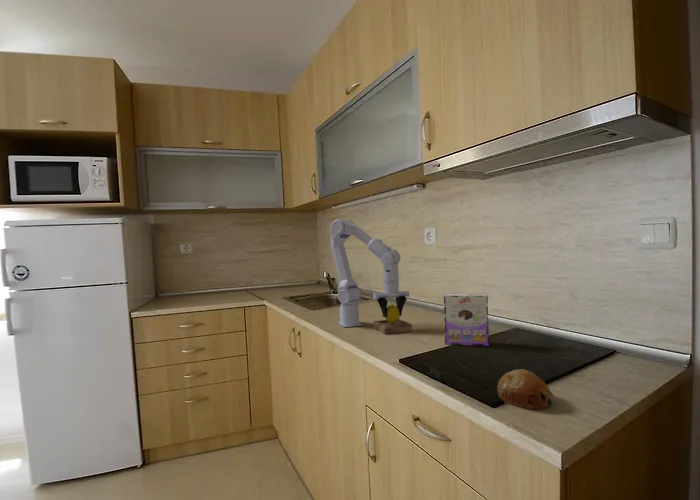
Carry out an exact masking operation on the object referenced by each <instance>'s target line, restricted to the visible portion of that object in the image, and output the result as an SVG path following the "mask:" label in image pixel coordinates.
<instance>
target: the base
mask: <svg viewBox="0 0 700 500" xmlns="http://www.w3.org/2000/svg"><path fill="white" fill-rule="evenodd" d="M412 328H413V327H412V323H410V322H407V321H405V320H402V319H400V318H399V320H398V321H397V322H396V323H394V325H392V324H391V323H389V322H388V321H387V320H386V319H383V320H381V319H380V320H374V321H373V329H375V330H376V331H377V332H380V333H382V334H384V335H392V334H401V333H411V332H412V331H413V330H412Z"/></svg>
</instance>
